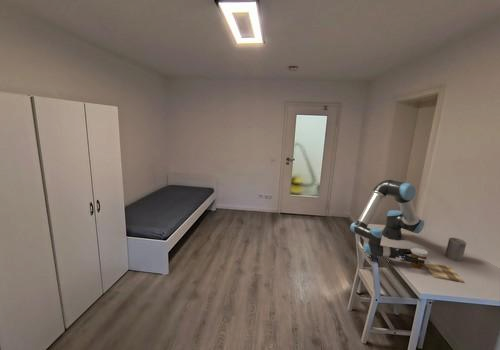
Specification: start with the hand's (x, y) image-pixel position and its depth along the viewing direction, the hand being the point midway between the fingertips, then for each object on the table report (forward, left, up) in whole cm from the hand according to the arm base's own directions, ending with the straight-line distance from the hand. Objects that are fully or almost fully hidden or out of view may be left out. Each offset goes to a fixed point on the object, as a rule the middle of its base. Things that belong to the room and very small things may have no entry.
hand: (426, 258), depth 153 cm
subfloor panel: (+1, +9, -7) cm, 12 cm away
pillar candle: (-24, +27, -7) cm, 37 cm away
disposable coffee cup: (0, -5, -7) cm, 9 cm away
